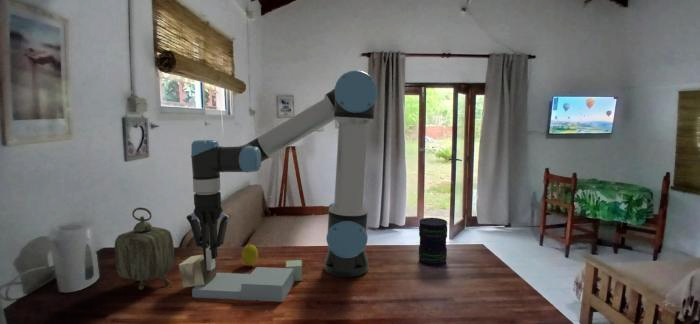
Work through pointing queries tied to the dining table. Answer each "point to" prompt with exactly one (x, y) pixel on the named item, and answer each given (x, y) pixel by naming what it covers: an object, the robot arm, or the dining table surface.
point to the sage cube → (295, 268)
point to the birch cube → (195, 271)
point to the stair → (249, 285)
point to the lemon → (249, 254)
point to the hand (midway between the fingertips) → (211, 268)
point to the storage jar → (432, 242)
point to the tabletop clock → (144, 252)
